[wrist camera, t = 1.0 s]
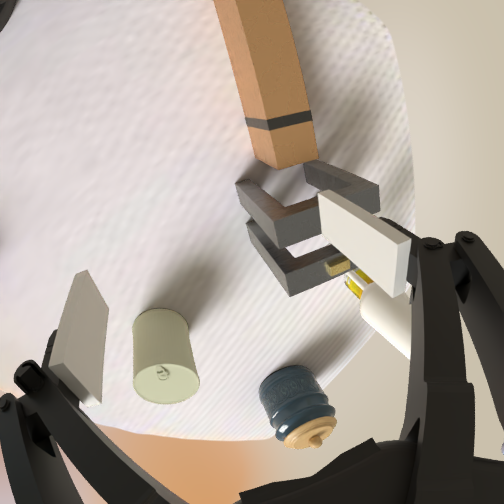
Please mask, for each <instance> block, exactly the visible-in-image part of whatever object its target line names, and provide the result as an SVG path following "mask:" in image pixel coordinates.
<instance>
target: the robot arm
mask: <svg viewBox="0 0 504 504" xmlns="http://www.w3.org/2000/svg"><path fill="white" fill-rule="evenodd" d="M15 3H16V0H0V31H1V30H2V29H3V27H4V26H5V24H6V22H7V20H8V19H9V17H10V15H11V13H12V11H13V8H14V6H15ZM318 201H319V210H320V220H321V230H322V236H323V237H324V238H325V239H326V240H328V241H329V242H330V243H331V244H332V245H333V246H335V247H336V248H337V249H338V250H339V251H340V252H342V253H343V254H344V255H345V256H346V257H347V258H348V259H350V260H351V261H352V262H353V263H354V264H355V265H356V266H358V267H359V268H360V269H361V270H362V271H363V272H364V273H365V274H366V275H368V276H369V277H370V278H371V279H372V280H373V281H374V282H375V283H376V284H378V285H379V286H380V287H381V288H382V289H383V290H384V291H385V292H386V293H387V294H388V295H389V296H391V297H392V298H394V297H396V296H398V295H400V294H402V293H404V292H405V289H406V282H407V281H408V282H409V283H410V284H411V285H412V290H411V296H410V301H409V304H411V355H410V372H409V384H408V396H407V404H406V412H405V419H404V424H403V428H402V431H401V435H400V438H399V440H393V441H384V442H378V443H375V441H374V440H373V438H370V439H368V440H367V441H365V442H363V443H361V444H360V445H357V446H356V447H354V448H352V449H350V450H348V451H346V452H344V453H342V454H340V455H339V456H338V457H337V458H336V459H334V460H333V461H332V462H330V463H329V464H328V465H327V466H325V467H324V468H323V469H321V470H320V471H319V472H317V473H316V474H314V475H313V476H311V477H306V478H300V479H294V480H287V481H279V482H272V483H269V484H266V485H263V486H260V487H257V488H254V489H251V490H247V491H244V492H241V493H239V495H240V498H241V500H239V501H237V502H235V503H234V504H504V461H498V460H492V459H486V458H480V457H475V456H474V438H475V394H474V386H473V384H472V383H468V382H467V379H466V367H465V354H464V344H463V335H462V327H461V320H460V313H461V315H462V317H463V320H464V322H465V324H466V327H467V329H468V331H469V333H470V336H471V339H472V341H473V344H474V346H475V349H476V351H477V354H478V356H479V359H480V362H481V365H482V367H483V370H484V373H485V376H486V379H487V382H488V385H489V388H490V391H491V395H492V398H493V401H494V405H495V408H496V411H497V414H498V418H499V421H500V423H501V425H502V427H503V430H504V269H503V268H502V267H501V265H500V264H499V262H498V261H497V260H496V259H495V257H494V256H493V254H492V253H491V252H490V250H489V249H488V248H487V246H486V245H485V244H484V243H483V241H482V240H481V239H480V238H479V237H478V236H477V235H476V234H474V233H472V232H469V231H461V232H458V233H457V234H456V236H455V242H453V243H448V244H444V243H443V242H442V241H441V240H439V239H436V238H431V237H426V238H422V239H421V238H419V237H418V236H416V235H414V234H413V233H411V232H410V231H408V230H406V229H405V228H403V227H402V226H400V225H398V224H397V223H395V222H393V221H392V220H390V219H386V218H383V217H380V218H377V217H376V216H374V215H373V214H371V213H369V212H368V211H366V210H364V209H363V208H361V207H359V206H357V205H356V204H354V203H352V202H351V201H349V200H347V199H345V198H344V197H342V196H340V195H338V194H337V193H335V192H333V191H331V190H325V191H322V192H319V193H318ZM459 311H460V313H459ZM108 314H109V308H108V306H107V304H106V303H105V301H104V299H103V298H102V296H101V294H100V292H99V290H98V289H97V287H96V285H95V283H94V281H93V280H92V278H91V276H90V274H89V272H88V270H85V271H82V272H80V273H77V274H76V275H75V277H74V280H73V283H72V286H71V289H70V292H69V295H68V298H67V301H66V304H65V307H64V310H63V313H62V317H61V320H60V323H59V327H58V329H56V330H54V331H53V333H52V334H51V336H50V338H49V340H48V344H47V348H46V351H45V355H44V359H43V363H42V367H41V368H40V367H39V366H38V364H37V363H36V362H35V361H33V360H27V361H25V362H23V363H22V364H21V365H20V366H19V367H18V368H17V370H16V372H15V374H14V383H15V384H16V385H17V386H18V387H19V388H20V389H21V390H22V391H23V392H24V393H25V395H23V396H22V397H20V398H18V399H17V398H16V397H15V396H14V395H13V394H11V393H6V394H4V395H3V396H2V397H1V398H0V443H1V449H2V454H3V458H4V463H5V467H6V471H7V475H8V479H9V482H10V486H11V489H12V493H13V496H14V499H15V502H16V504H84V503H83V501H82V499H81V497H80V495H79V493H78V491H77V489H76V487H75V485H74V483H73V481H72V479H71V477H70V474H69V472H68V470H67V468H66V465H65V463H64V461H63V458H62V456H61V453H60V451H59V448H58V446H57V443H58V445H59V446H60V447H61V449H62V450H63V451H64V453H65V454H66V455H67V457H68V458H69V459H70V461H71V462H72V463H73V464H74V466H75V467H76V468H77V469H78V471H79V472H80V473H81V474H82V475H83V477H84V478H85V479H86V480H87V481H88V482H89V484H90V485H91V486H92V487H93V488H94V489H95V490H96V491H97V493H98V494H99V495H100V496H101V497H102V498H103V499H104V500H105V501H106V502H107V503H108V504H189V503H187V502H186V501H184V500H183V499H181V498H180V497H178V496H177V495H176V494H174V493H173V492H171V491H170V490H169V489H167V488H166V487H165V486H163V485H162V484H161V483H160V482H158V481H157V480H155V479H154V478H153V477H152V476H151V475H149V474H148V473H147V472H146V471H145V470H143V469H142V468H141V467H140V466H138V465H137V464H136V463H135V462H134V461H133V460H132V459H131V458H129V457H128V456H127V455H126V454H125V453H124V452H123V451H122V450H121V449H119V448H118V447H117V446H116V445H115V444H114V443H113V442H112V441H111V440H110V439H109V438H108V437H107V436H106V435H105V434H104V433H103V432H102V431H101V430H100V429H99V428H98V427H97V426H96V425H95V424H94V423H93V422H92V421H91V419H90V418H89V417H88V416H87V415H86V414H85V413H84V412H83V411H82V410H81V409H80V408H79V400H80V401H81V402H82V403H83V404H84V405H85V406H86V407H92V406H97V405H102V381H103V364H104V351H105V340H106V331H107V322H108ZM56 442H57V443H56ZM501 449H502V453H503V455H504V443H503V444H502V448H501Z"/></svg>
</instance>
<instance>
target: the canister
mask: <svg viewBox="0 0 504 504" xmlns="http://www.w3.org/2000/svg"><path fill="white" fill-rule="evenodd" d="M259 397H260V401H261V403H262V405H263V406H264V408H265V410H266V413H267V415H268V417H269V420H270V424H271V426H272V427H273V428H275V429H276V434H275V435H276V438H277V439H278V440H280V441H284V445H285V446H286V447H288V448H295V449H303V448H307V447H312V448H319V447H320V446H321V445H322V441H323V440H324V439H325V438H327V437H328V436H329V435H330V434H331V433H332V431H333V429H334V427H335V426H336V423H337V420H336V419H335V418H334V415H335V408H334V407H333V406H330V405H329V404H328V398H327V396H326V395H325V394H324V392H323V390H322V389H321V387H320V386H319V384H318V382H317V381H316V377H315V376H314V374H313V373H312V372H311V371H310V370H309V369H308V368H307V367H304V366H290V367H286V368H283V369H281V370H279V371H277V372H275V373H273V374H272V375H270V376H269V377H268V378H266V379H265V380H264V382H263V383H262V384H261V386H260V388H259Z"/></svg>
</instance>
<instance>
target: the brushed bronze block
mask: <svg viewBox="0 0 504 504" xmlns="http://www.w3.org/2000/svg"><path fill="white" fill-rule="evenodd" d="M213 1H214V4H215V8H216V11H217V15H218V18H219V22H220V25H221V29H222V32H223V36H224V39H225V43H226V47H227V50H228V54H229V58H230V61H231V65H232V69H233V72H234V76H235V80H236V84H237V88H238V91H239V95H240V99H241V103H242V107H243V111H244V114H245V120H246V124H247V126H248V130H249V134H250V138H251V142H252V146H253V150H254V154H255V158H257V159H258V160H260V161H262V162H264V163H266V164H268V165H270V166H272V167H273V168H275V169H277V170H280V169H284V168H287V167H290V166H294V165H297V164H301V163H304V162H308V161H311V160H315V159H319V156H318V150H317V145H316V139H315V134H314V128H313V123H312V121H313V120H312V115H311V110H310V108H309V103H308V98H307V94H306V89H305V85H304V80H303V76H302V71H301V67H300V63H299V59H298V55H297V51H296V47H295V43H294V39H293V35H292V32H291V28H290V24H289V21H288V17H287V14H286V10H285V7H284V3H283V0H213Z"/></svg>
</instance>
